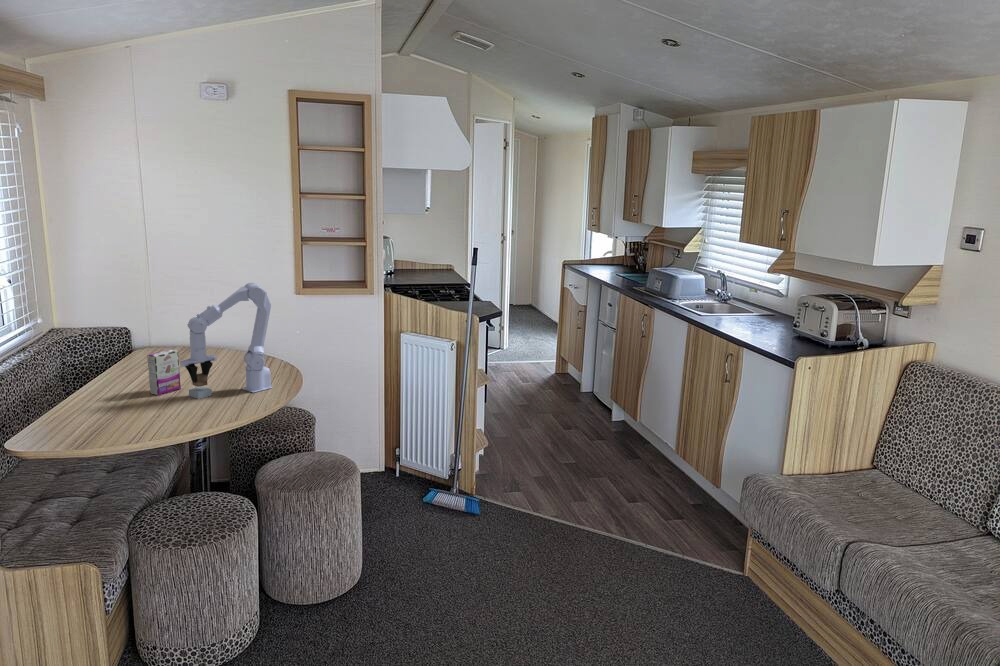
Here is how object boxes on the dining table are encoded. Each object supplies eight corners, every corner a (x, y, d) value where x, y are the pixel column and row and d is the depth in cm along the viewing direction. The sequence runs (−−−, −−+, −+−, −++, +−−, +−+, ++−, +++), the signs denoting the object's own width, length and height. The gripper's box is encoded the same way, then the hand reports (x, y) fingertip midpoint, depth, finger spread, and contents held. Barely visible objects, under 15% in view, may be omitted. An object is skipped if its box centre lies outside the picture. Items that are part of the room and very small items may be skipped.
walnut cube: (201, 382, 285) (201, 373, 284) (207, 384, 283) (207, 375, 282) (192, 384, 282) (192, 375, 281) (198, 386, 280) (197, 377, 279)
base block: (202, 393, 288) (201, 386, 287) (211, 396, 285) (211, 389, 284) (189, 397, 283) (188, 389, 282) (198, 399, 280) (198, 392, 279)
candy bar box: (172, 387, 293) (170, 348, 290) (181, 389, 291) (179, 350, 288) (149, 394, 283) (146, 354, 280) (158, 396, 281) (155, 356, 278)
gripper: (208, 343, 288) (210, 375, 290) (175, 349, 276) (176, 382, 279) (219, 346, 284) (220, 378, 286) (185, 352, 272) (187, 386, 275)
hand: (199, 380), depth 282 cm, fingers closed on walnut cube, 4 cm apart
